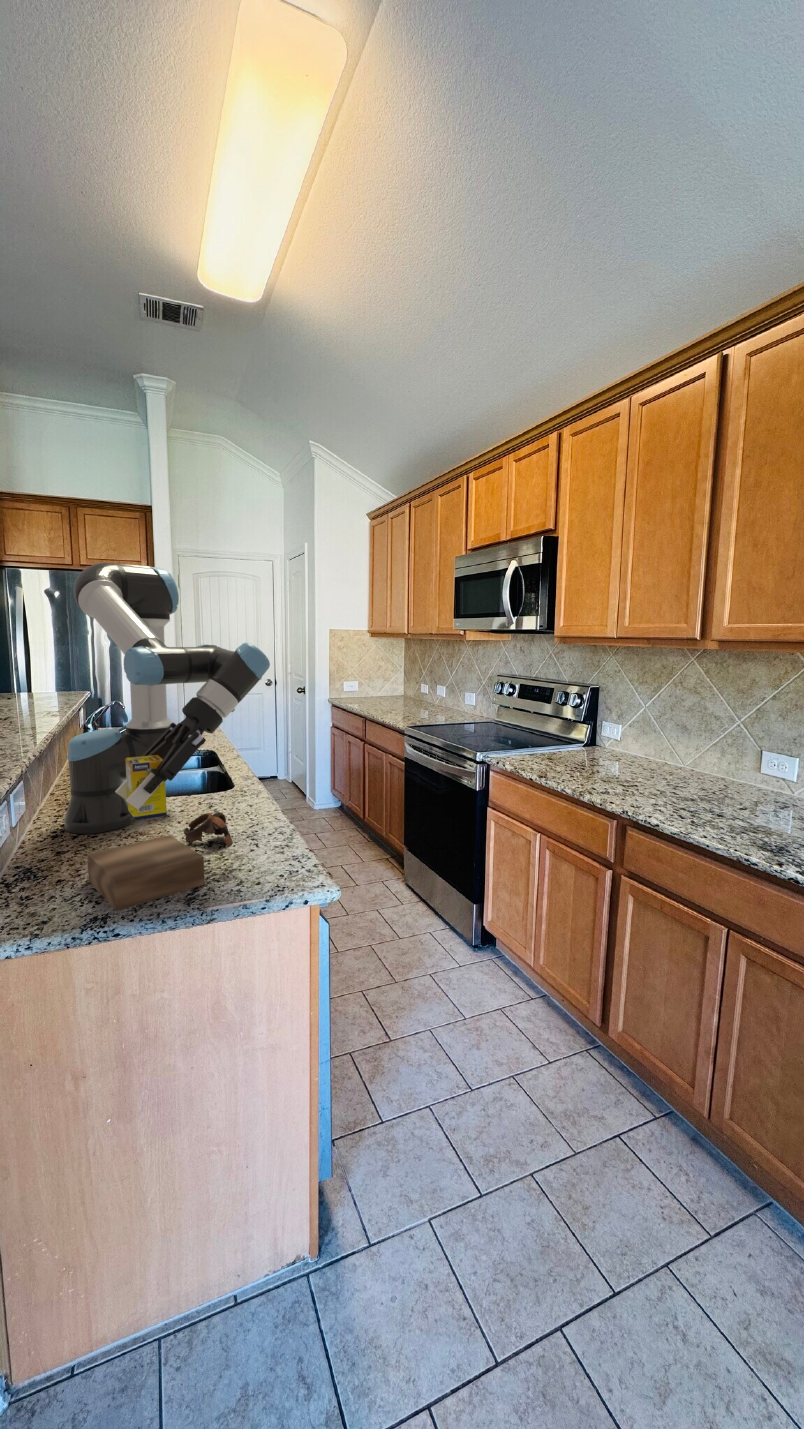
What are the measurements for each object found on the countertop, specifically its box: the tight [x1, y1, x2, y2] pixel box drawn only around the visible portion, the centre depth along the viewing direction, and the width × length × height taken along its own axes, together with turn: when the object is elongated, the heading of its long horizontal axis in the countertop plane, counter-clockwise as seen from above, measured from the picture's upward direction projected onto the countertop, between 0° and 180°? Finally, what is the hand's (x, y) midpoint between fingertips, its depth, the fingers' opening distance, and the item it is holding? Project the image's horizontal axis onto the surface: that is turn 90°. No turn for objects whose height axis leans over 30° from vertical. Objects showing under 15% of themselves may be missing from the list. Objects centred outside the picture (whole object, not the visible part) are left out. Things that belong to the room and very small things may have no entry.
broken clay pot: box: [183, 811, 233, 848], centre depth 133 cm, size 12×10×8 cm
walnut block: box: [86, 834, 205, 912], centre depth 111 cm, size 16×16×6 cm
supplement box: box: [125, 755, 168, 822], centre depth 109 cm, size 6×6×11 cm
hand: (126, 800), depth 107 cm, fingers closed on supplement box, 6 cm apart
